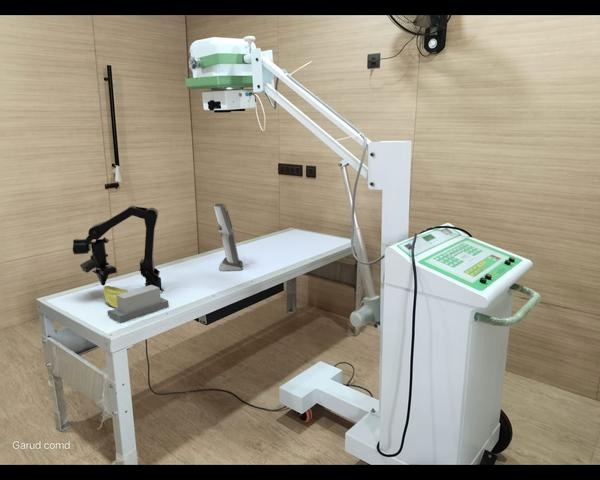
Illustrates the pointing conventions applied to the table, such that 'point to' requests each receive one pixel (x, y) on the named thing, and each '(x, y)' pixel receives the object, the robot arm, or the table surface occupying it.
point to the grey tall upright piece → (227, 240)
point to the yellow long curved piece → (112, 295)
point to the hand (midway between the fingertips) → (103, 285)
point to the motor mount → (138, 303)
